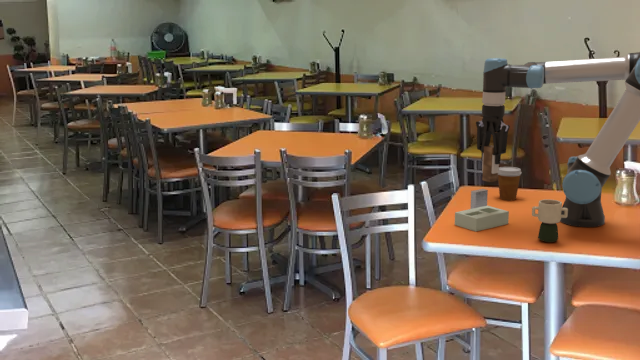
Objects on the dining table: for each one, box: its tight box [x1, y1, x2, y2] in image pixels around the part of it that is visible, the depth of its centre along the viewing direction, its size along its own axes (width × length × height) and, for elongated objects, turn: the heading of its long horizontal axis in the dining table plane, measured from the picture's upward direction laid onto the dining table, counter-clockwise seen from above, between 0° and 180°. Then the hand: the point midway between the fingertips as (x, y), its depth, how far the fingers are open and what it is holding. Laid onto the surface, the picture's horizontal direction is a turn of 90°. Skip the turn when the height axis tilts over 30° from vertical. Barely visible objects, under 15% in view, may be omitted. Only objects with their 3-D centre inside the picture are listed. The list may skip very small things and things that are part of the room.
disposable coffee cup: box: [497, 166, 522, 201], centre depth 289 cm, size 10×10×12 cm
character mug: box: [531, 198, 568, 243], centre depth 234 cm, size 11×7×13 cm, turn 77°
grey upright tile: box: [470, 188, 489, 209], centre depth 266 cm, size 2×6×9 cm, turn 124°
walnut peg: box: [482, 144, 498, 183], centre depth 252 cm, size 4×4×12 cm
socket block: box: [454, 205, 510, 232], centre depth 254 cm, size 10×16×4 cm, turn 124°
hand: (490, 171), depth 252 cm, fingers closed on walnut peg, 4 cm apart
